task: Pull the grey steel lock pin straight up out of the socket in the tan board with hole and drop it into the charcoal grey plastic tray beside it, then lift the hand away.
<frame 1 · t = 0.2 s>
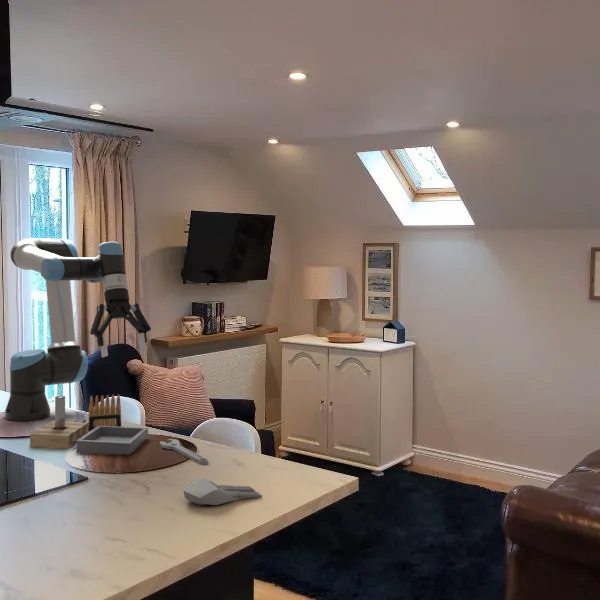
hand: (124, 355, 223), 27 cm above the kitchen island, tool tilted 20°, fingers open, 13 cm apart
tan board with hole: (60, 440, 223), on the kitchen island
ammunition clip: (104, 430, 238), on the kitchen island
adjustable wrench: (181, 455, 213), on the kitchen island
turret: (221, 500, 176), on the kitchen island
tray: (113, 445, 220), on the kitchen island
lock pin: (60, 418, 223), in the tan board with hole
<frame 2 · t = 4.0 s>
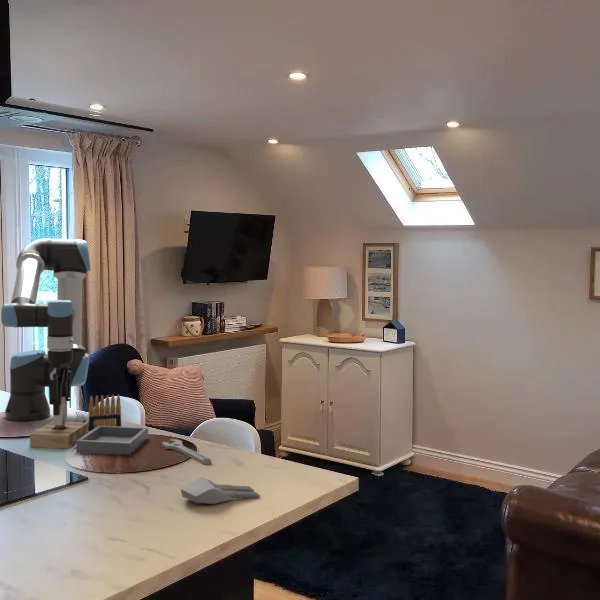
hand: (60, 423, 223), 6 cm above the kitchen island, tool pointing down, fingers closed on lock pin, 3 cm apart
lock pin: (60, 418, 223), in the tan board with hole, touching gripper
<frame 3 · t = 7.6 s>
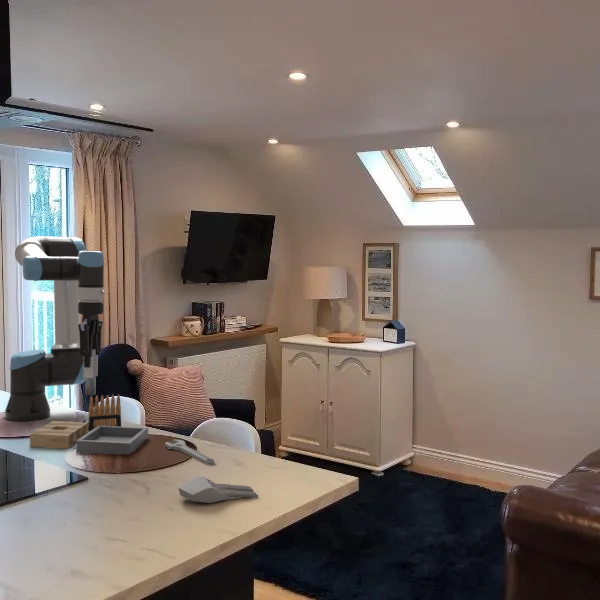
hand: (90, 376, 219), 21 cm above the kitchen island, tool pointing down, fingers closed on lock pin, 3 cm apart
lock pin: (90, 371, 219), point 23 cm above the kitchen island, touching gripper
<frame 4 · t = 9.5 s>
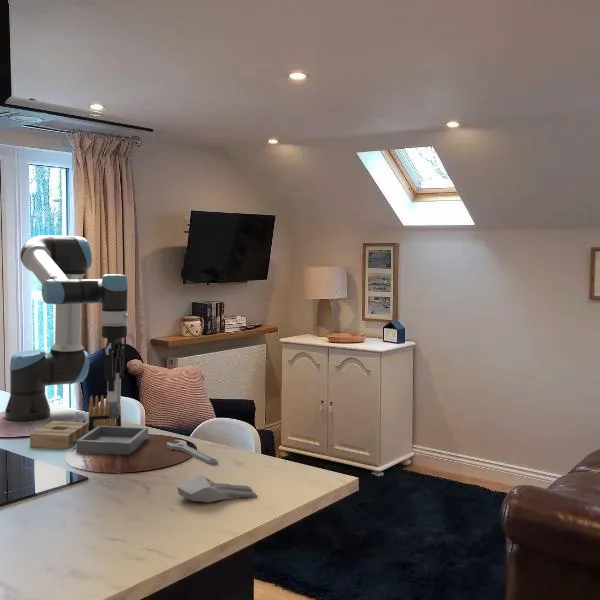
hand: (114, 400, 219), 14 cm above the kitchen island, tool pointing down, fingers closed on lock pin, 3 cm apart
lock pin: (114, 395, 219), point 16 cm above the kitchen island, touching gripper
when the fingers open (8 cm above the kitchen island, at t = 11.1 s): lock pin drops 2 cm, resting on tray.
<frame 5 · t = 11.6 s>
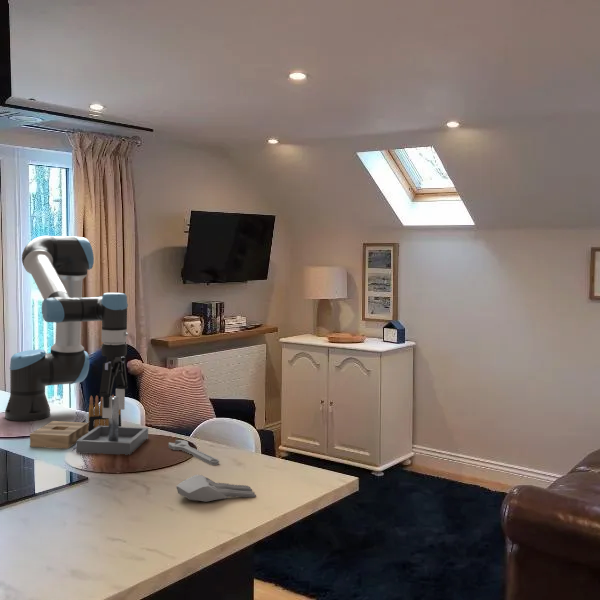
hand: (113, 413, 219), 10 cm above the kitchen island, tool pointing down, fingers open, 11 cm apart
lock pin: (113, 420, 219), in the tray, point 8 cm above the kitchen island
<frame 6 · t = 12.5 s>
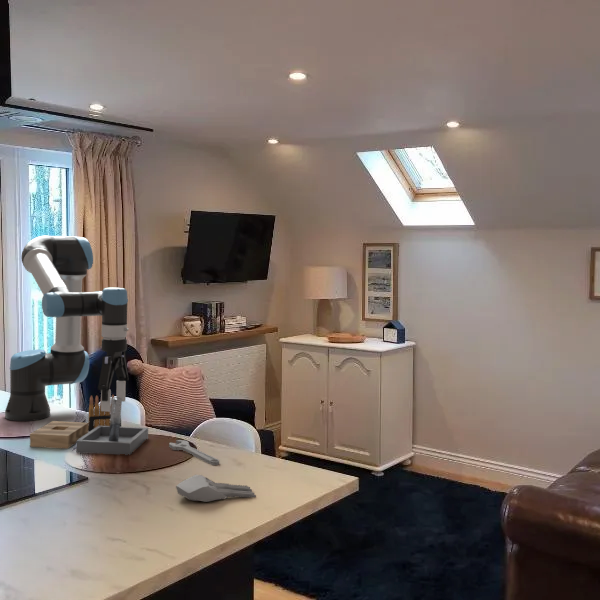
hand: (113, 406, 219), 12 cm above the kitchen island, tool pointing down, fingers open, 13 cm apart
lock pin: (115, 420, 219), in the tray, point 8 cm above the kitchen island, tilted 7°
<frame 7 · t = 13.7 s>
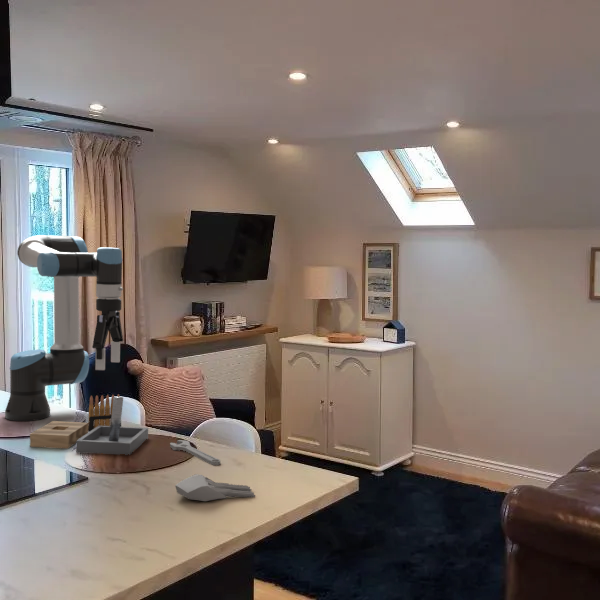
hand: (108, 365, 220), 24 cm above the kitchen island, tool pointing down, fingers open, 13 cm apart
lock pin: (116, 419, 220), in the tray, point 8 cm above the kitchen island, tilted 6°
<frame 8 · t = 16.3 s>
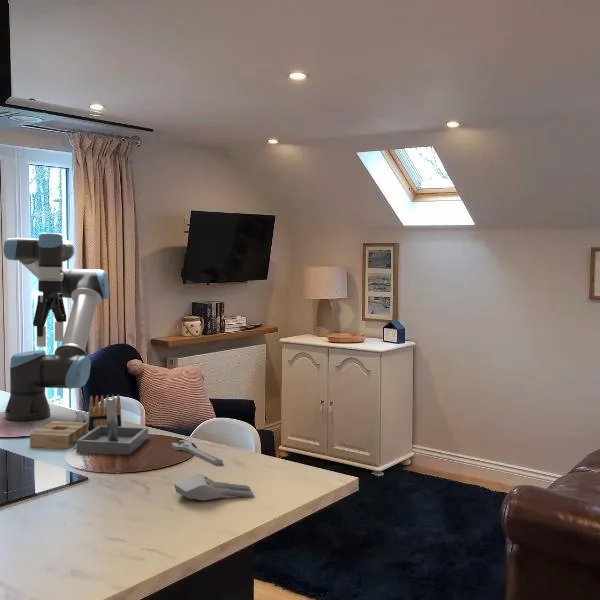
hand: (50, 343, 235), 29 cm above the kitchen island, tool pointing down, fingers open, 13 cm apart
lock pin: (112, 420, 219), in the tray, point 8 cm above the kitchen island, tilted 7°
at the end: lock pin inside the target area on the tray (0.0 cm from its centre), point 7.9 cm above the tray's base; lock pin moved 18.1 cm from its start; the gripper is holding nothing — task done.
